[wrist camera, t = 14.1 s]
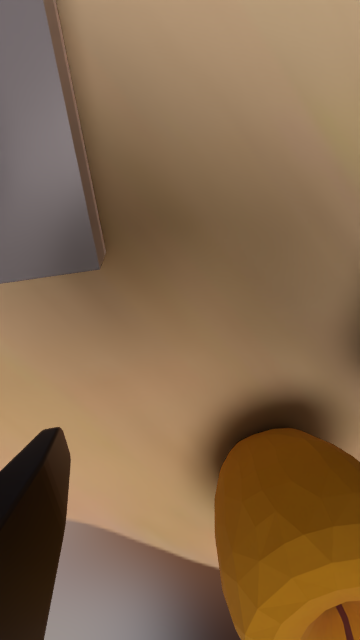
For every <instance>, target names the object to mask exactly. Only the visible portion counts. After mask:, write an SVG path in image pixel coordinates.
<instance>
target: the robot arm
mask: <svg viewBox="0 0 360 640" xmlns="http://www.w3.org/2000/svg"><path fill="white" fill-rule="evenodd" d="M70 463H71V459H70V452H69V449H68V446H67V442H66V439H65V436H64V433H63V430H62V429H61V428H60V427H55V428H49V429H44V430H42V431H41V432H40V433H39V434H38V435H37V436H36V437H35V438H34V439H33V440H32V441H31V442H30V443H29V444H28V445H27V446H26V447H25V448H24V449H23V450H22V451H21V452H20V453H19V454H18V455H16V456H15V457H14V458H13V459H12V460H11V461H10V462H9V463H8V464H7V465H6V466H5V467H4V468H3V469H2V470H1V471H0V640H44V636H45V631H46V626H47V620H48V615H49V610H50V604H51V599H52V594H53V589H54V584H55V578H56V573H57V568H58V563H59V557H60V552H61V547H62V542H63V536H64V530H65V524H66V514H67V502H68V489H69V476H70Z"/></svg>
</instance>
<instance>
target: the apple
mask: <svg viewBox="0 0 360 640" xmlns="http://www.w3.org/2000/svg"><path fill="white" fill-rule="evenodd" d="M215 539H216V547H217V554H218V561H219V569H220V575H221V583H222V589H223V593H224V596H225V599H226V602H227V605H228V608H229V612H230V615H231V617H232V620H233V623H234V626H235V629H236V631H237V633H238V635H239V637H240V639H241V640H360V462H359V461H358V460H357V459H355V458H354V457H353V456H351V455H350V454H348V453H346V452H345V451H343V450H342V449H340V448H338V447H337V446H335V445H333V444H331V443H329V442H327V441H324V440H322V439H320V438H317V437H315V436H312V435H310V434H308V433H305V432H303V431H301V430H297V429H293V428H281V429H271V430H267V431H264V432H260V433H257V434H253V435H251V436H249V437H247V438H245V439H243V440H241V441H239V442H238V443H237V444H236V445H235V446H234V447H233V448H232V449H231V451H230V452H229V454H228V456H227V457H226V459H225V461H224V463H223V465H222V467H221V470H220V473H219V479H218V484H217V489H216V495H215Z"/></svg>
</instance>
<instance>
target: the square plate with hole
mask: <svg viewBox="0 0 360 640" xmlns="http://www.w3.org/2000/svg"><path fill="white" fill-rule="evenodd" d="M105 254H106V249H105V244H104V239H103V234H102V229H101V224H100V219H99V214H98V209H97V204H96V199H95V194H94V189H93V184H92V179H91V174H90V169H89V164H88V159H87V154H86V149H85V144H84V139H83V134H82V129H81V124H80V119H79V114H78V109H77V104H76V99H75V94H74V89H73V84H72V79H71V74H70V69H69V64H68V59H67V54H66V49H65V44H64V39H63V34H62V29H61V24H60V19H59V14H58V9H57V4H56V0H0V284H1V283H8V282H15V281H22V280H29V279H36V278H43V277H50V276H57V275H64V274H71V273H78V272H85V271H92V270H99V269H100V268H101V265H102V262H103V260H104V257H105Z"/></svg>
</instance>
